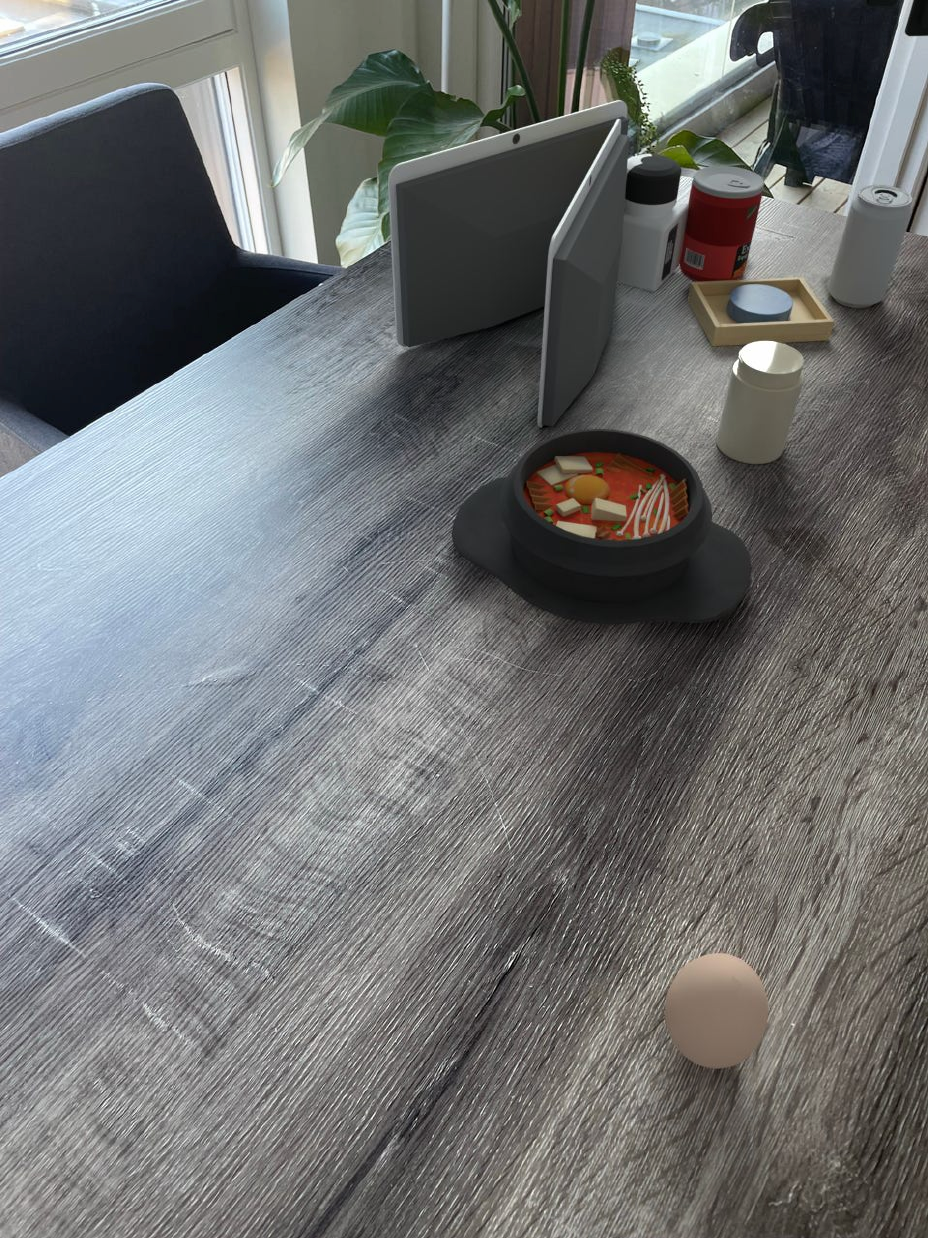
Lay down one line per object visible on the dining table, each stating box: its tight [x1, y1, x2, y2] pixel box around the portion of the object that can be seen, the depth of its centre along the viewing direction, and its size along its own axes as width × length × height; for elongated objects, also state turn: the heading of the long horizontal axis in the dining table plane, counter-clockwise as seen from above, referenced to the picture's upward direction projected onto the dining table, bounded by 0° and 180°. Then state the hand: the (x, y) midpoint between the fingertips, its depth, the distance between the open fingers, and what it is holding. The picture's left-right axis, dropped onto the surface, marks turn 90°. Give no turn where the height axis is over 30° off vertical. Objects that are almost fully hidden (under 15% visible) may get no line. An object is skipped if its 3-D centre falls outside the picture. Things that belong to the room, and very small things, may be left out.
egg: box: [664, 952, 770, 1070], centre depth 53 cm, size 5×5×8 cm
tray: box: [687, 276, 835, 347], centre depth 112 cm, size 13×10×2 cm
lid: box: [726, 284, 793, 323], centre depth 111 cm, size 7×7×2 cm
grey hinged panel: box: [387, 99, 630, 429], centre depth 103 cm, size 35×22×20 cm, turn 164°
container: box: [617, 153, 689, 293], centre depth 115 cm, size 8×8×13 cm
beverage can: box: [827, 184, 913, 309], centre depth 112 cm, size 6×6×12 cm
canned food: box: [679, 165, 765, 282], centre depth 117 cm, size 8×8×11 cm
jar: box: [715, 341, 805, 465], centre depth 93 cm, size 6×6×10 cm
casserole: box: [451, 428, 753, 626], centre depth 81 cm, size 25×19×8 cm
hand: (899, 19), depth 97 cm, fingers open, 9 cm apart
